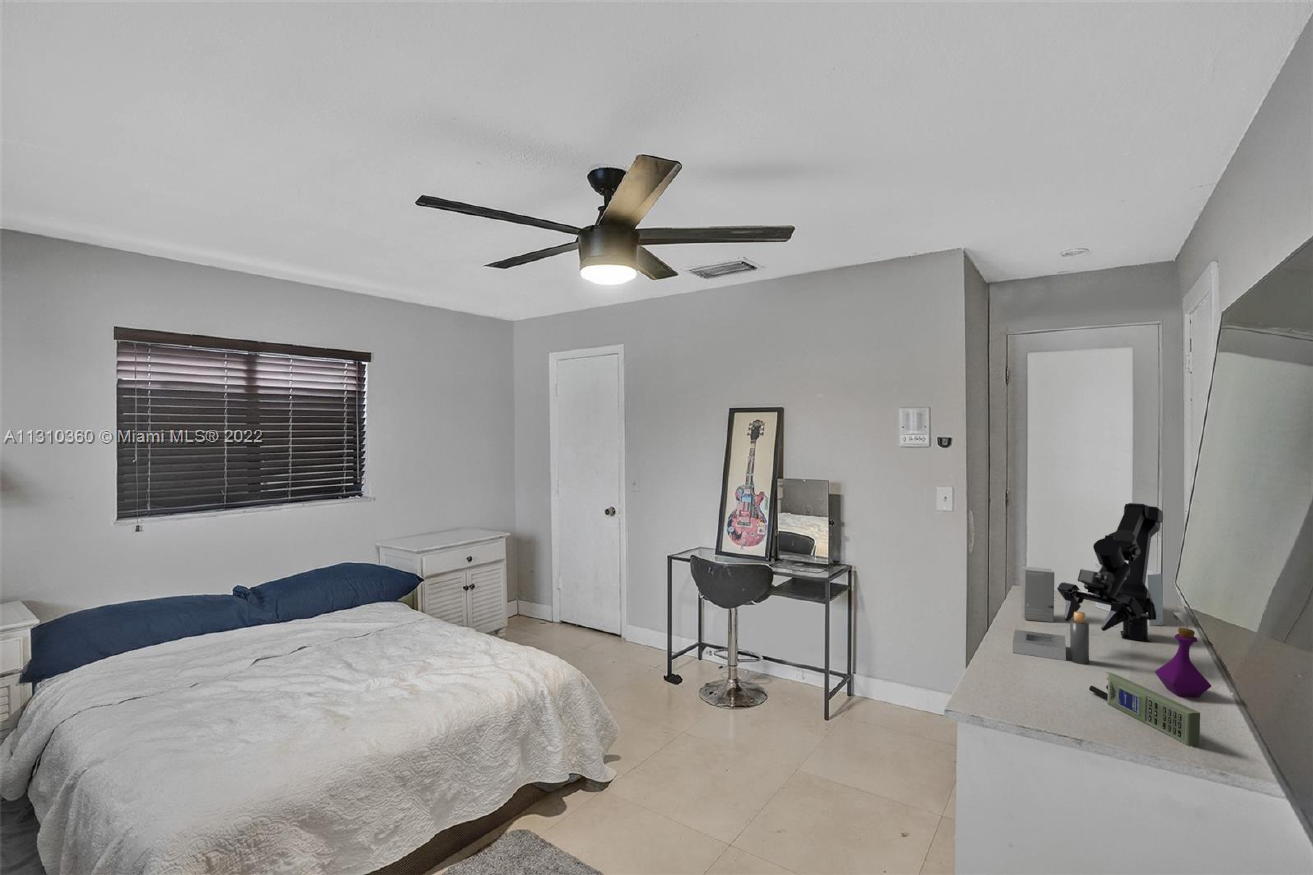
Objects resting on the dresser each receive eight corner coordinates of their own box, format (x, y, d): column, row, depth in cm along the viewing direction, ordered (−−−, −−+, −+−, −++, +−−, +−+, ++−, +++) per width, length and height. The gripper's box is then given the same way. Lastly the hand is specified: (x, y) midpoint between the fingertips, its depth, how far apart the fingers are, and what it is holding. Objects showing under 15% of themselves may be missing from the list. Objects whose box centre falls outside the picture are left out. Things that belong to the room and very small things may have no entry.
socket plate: (1015, 640, 182) (1015, 629, 182) (1065, 647, 175) (1065, 636, 175) (1012, 652, 172) (1012, 641, 172) (1065, 660, 165) (1065, 648, 165)
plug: (1070, 657, 167) (1070, 610, 167) (1088, 660, 165) (1088, 612, 165) (1070, 662, 164) (1070, 613, 164) (1089, 665, 162) (1089, 616, 162)
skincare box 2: (1093, 607, 214) (1092, 559, 214) (1108, 606, 214) (1107, 559, 214) (1148, 626, 193) (1147, 573, 193) (1164, 625, 194) (1164, 572, 193)
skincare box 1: (1024, 620, 200) (1023, 569, 200) (1020, 614, 207) (1020, 565, 207) (1055, 623, 197) (1055, 571, 197) (1051, 616, 204) (1050, 567, 204)
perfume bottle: (1212, 701, 140) (1211, 618, 140) (1173, 698, 141) (1172, 617, 141) (1191, 687, 147) (1190, 609, 147) (1154, 685, 149) (1153, 608, 149)
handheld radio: (1187, 748, 120) (1084, 694, 145) (1203, 747, 120) (1097, 693, 145) (1188, 712, 120) (1085, 664, 145) (1204, 712, 120) (1098, 664, 145)
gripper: (1061, 552, 176) (1034, 597, 171) (1135, 564, 159) (1108, 614, 154) (1079, 578, 179) (1054, 623, 174) (1154, 593, 162) (1128, 642, 157)
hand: (1083, 625), depth 165 cm, fingers open, 9 cm apart
